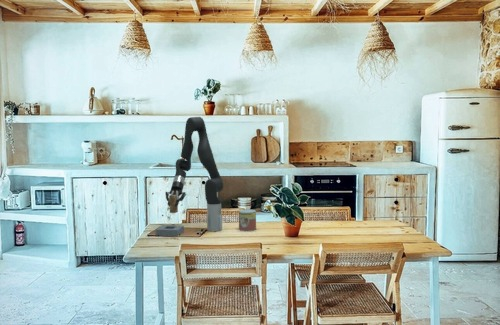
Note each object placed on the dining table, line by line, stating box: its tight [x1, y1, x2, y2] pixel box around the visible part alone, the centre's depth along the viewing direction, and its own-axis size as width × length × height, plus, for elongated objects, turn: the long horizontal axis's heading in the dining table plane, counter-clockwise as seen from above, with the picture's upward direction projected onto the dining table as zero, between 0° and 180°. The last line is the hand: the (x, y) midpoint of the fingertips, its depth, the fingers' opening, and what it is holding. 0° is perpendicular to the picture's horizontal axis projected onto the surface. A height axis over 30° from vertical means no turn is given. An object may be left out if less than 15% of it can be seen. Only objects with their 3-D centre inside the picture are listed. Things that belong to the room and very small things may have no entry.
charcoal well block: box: [155, 224, 185, 237], centre depth 276 cm, size 14×12×4 cm
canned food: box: [238, 208, 257, 232], centre depth 286 cm, size 11×11×12 cm
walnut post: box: [168, 194, 179, 214], centre depth 283 cm, size 4×4×11 cm
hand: (172, 205), depth 281 cm, fingers closed on walnut post, 4 cm apart
